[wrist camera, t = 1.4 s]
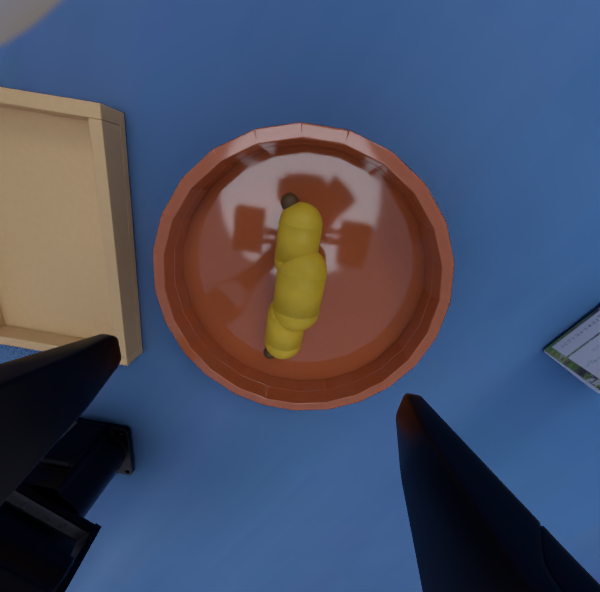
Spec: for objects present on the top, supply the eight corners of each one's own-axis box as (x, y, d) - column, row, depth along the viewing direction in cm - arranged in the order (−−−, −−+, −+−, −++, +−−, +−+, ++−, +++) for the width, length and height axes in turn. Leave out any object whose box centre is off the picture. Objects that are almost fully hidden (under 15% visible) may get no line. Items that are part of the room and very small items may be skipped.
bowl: (390, 398, 23) (400, 428, 20) (180, 362, 23) (159, 387, 20) (474, 162, 16) (509, 155, 13) (175, 113, 16) (143, 96, 13)
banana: (309, 354, 21) (307, 380, 18) (265, 346, 21) (256, 372, 18) (339, 200, 17) (344, 201, 14) (284, 191, 17) (277, 190, 14)
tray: (143, 352, 23) (127, 366, 21) (5, 328, 23) (-22, 340, 21) (124, 113, 16) (99, 102, 15) (-67, 81, 16) (-116, 67, 15)
